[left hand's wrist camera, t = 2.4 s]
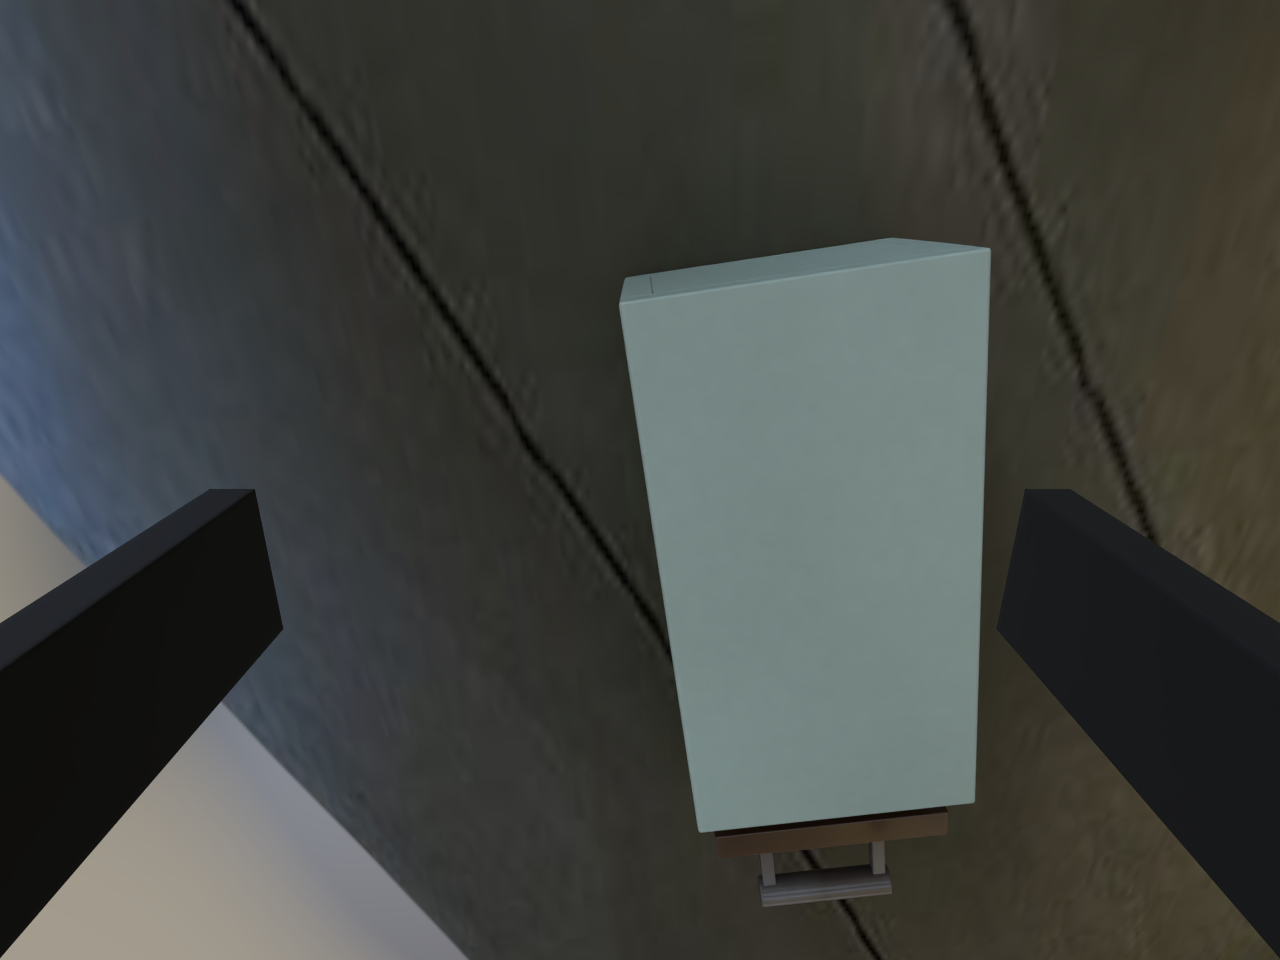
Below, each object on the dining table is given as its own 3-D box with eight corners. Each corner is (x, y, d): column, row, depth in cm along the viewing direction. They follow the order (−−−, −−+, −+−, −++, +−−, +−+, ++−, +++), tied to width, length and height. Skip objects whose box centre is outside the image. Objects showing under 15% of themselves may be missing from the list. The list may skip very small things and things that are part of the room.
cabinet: (900, 671, 35) (976, 803, 27) (685, 696, 36) (698, 833, 28) (893, 237, 28) (992, 247, 20) (624, 277, 28) (618, 302, 21)
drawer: (898, 822, 37) (947, 938, 31) (717, 841, 38) (732, 959, 32) (888, 343, 28) (954, 378, 22) (653, 377, 29) (656, 420, 23)
